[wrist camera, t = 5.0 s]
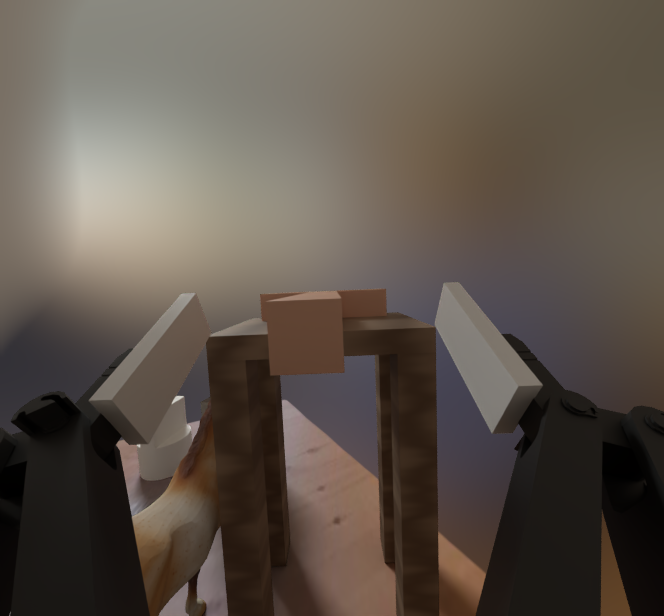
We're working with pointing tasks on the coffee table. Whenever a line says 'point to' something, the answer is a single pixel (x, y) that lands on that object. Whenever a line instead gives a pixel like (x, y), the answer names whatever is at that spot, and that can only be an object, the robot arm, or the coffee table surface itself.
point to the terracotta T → (313, 327)
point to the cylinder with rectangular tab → (166, 444)
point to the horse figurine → (181, 526)
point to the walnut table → (270, 471)
